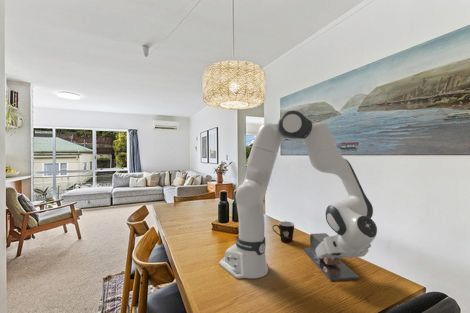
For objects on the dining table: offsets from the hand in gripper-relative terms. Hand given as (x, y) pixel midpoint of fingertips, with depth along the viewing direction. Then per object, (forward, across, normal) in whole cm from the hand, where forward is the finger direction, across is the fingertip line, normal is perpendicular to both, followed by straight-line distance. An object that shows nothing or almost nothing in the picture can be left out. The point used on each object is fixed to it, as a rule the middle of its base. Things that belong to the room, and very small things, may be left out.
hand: (334, 257), depth 98 cm
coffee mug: (+28, +12, -20) cm, 36 cm away
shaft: (+9, 0, -4) cm, 10 cm away
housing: (+9, 0, -1) cm, 9 cm away
